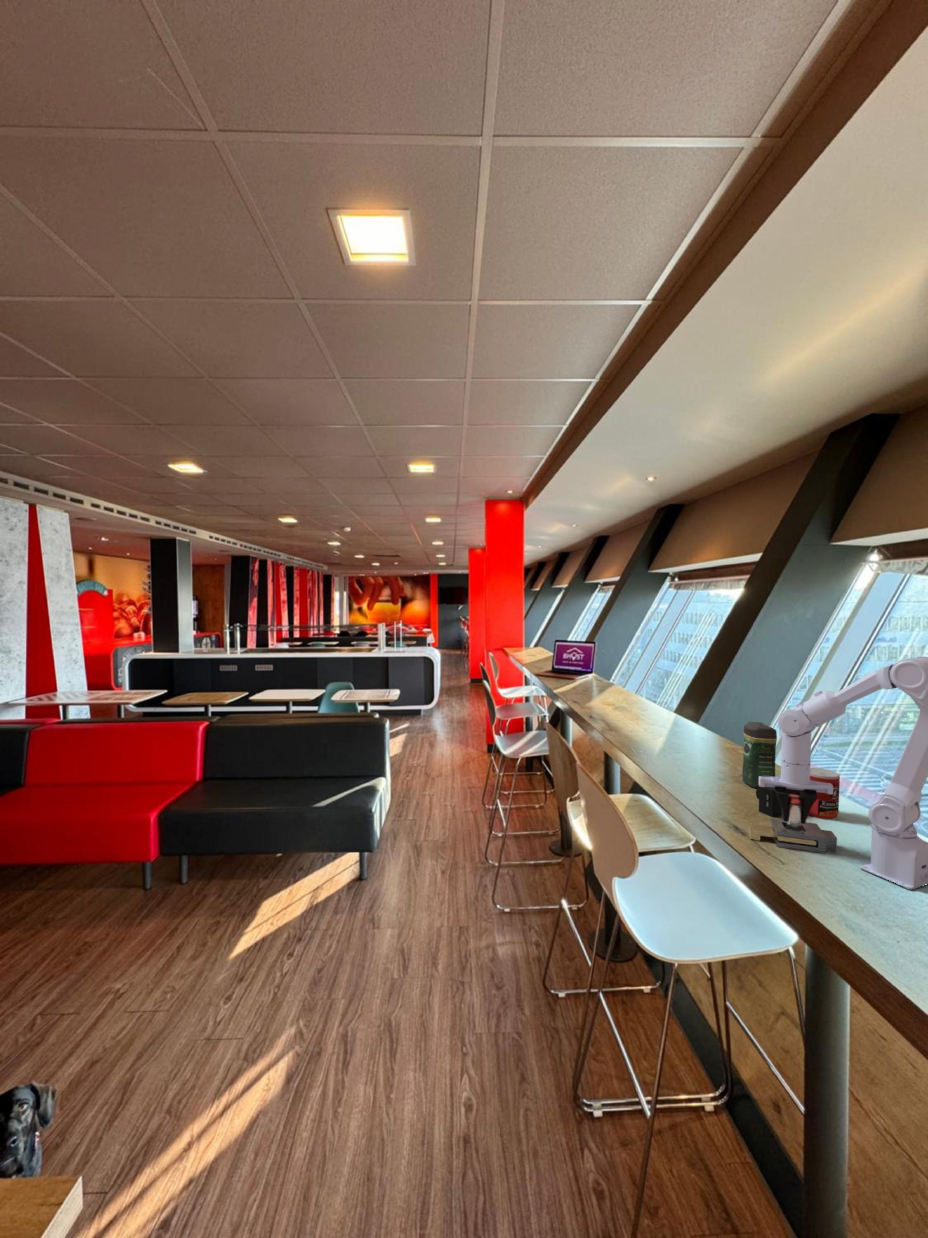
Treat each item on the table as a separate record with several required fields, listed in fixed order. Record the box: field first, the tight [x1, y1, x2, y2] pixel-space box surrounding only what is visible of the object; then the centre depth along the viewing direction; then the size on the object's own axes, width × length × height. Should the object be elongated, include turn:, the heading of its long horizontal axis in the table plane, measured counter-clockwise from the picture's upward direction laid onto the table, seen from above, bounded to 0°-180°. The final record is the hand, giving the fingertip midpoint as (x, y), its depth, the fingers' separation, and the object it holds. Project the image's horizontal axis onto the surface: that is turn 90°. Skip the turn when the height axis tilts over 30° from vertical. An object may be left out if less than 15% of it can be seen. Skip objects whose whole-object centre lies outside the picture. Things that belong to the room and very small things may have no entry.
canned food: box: [808, 767, 841, 820], centre depth 146 cm, size 8×8×11 cm
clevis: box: [747, 817, 838, 854], centre depth 128 cm, size 17×8×4 cm, turn 71°
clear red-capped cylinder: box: [786, 794, 803, 831], centre depth 128 cm, size 3×3×9 cm
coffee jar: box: [741, 721, 778, 788], centre depth 169 cm, size 10×8×19 cm
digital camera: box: [755, 786, 800, 818], centre depth 148 cm, size 10×5×7 cm, turn 111°
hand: (793, 821), depth 128 cm, fingers closed on clear red-capped cylinder, 3 cm apart
